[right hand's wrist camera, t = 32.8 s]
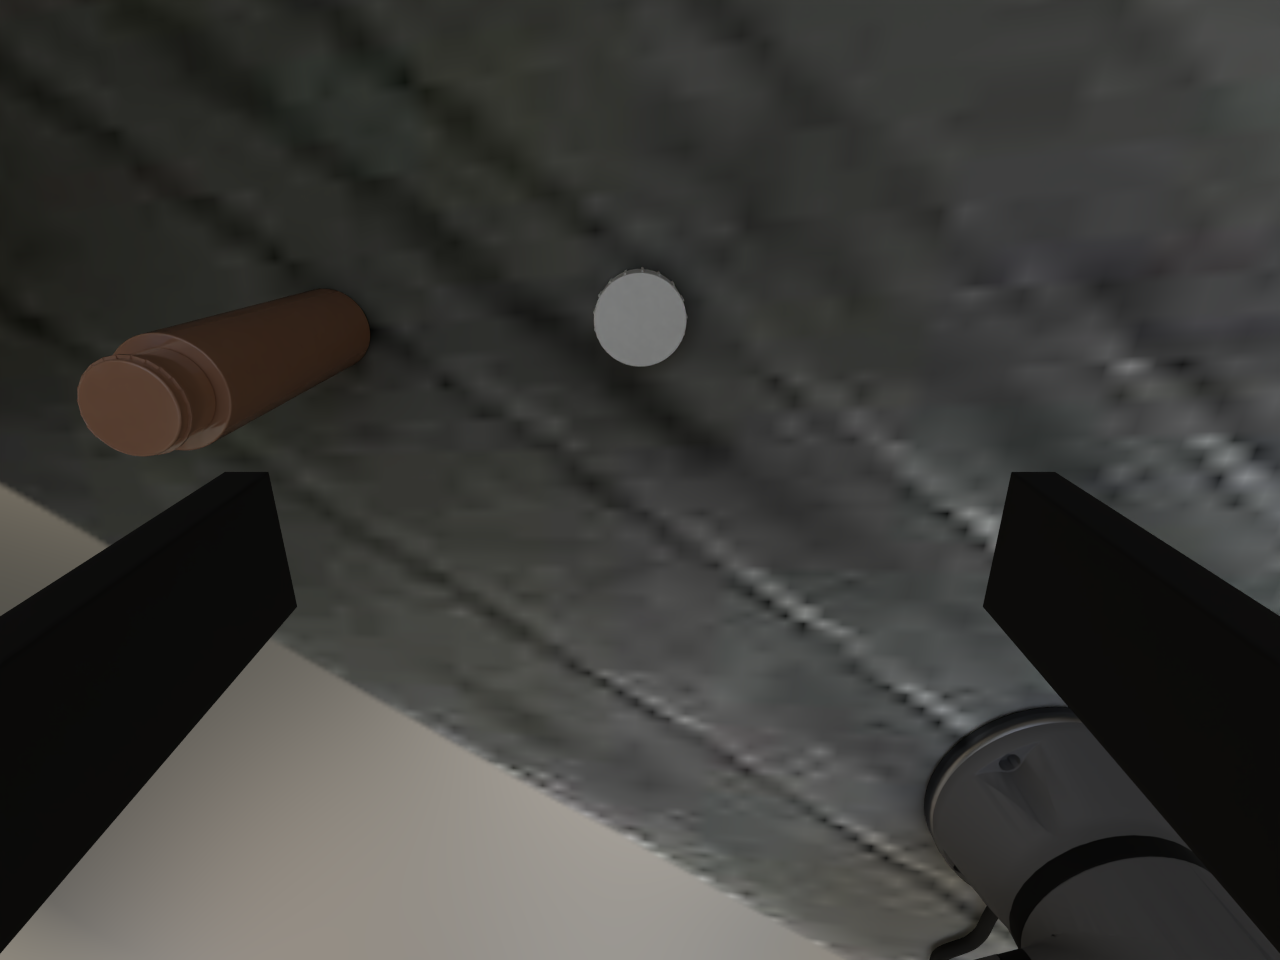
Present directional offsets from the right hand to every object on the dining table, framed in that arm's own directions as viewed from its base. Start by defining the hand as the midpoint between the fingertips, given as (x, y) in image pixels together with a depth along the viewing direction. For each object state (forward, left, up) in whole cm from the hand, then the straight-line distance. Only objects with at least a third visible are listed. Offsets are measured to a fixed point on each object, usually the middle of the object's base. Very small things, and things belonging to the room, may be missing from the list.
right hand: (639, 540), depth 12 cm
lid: (0, 0, -24) cm, 24 cm away
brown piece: (-3, +16, -26) cm, 31 cm away
